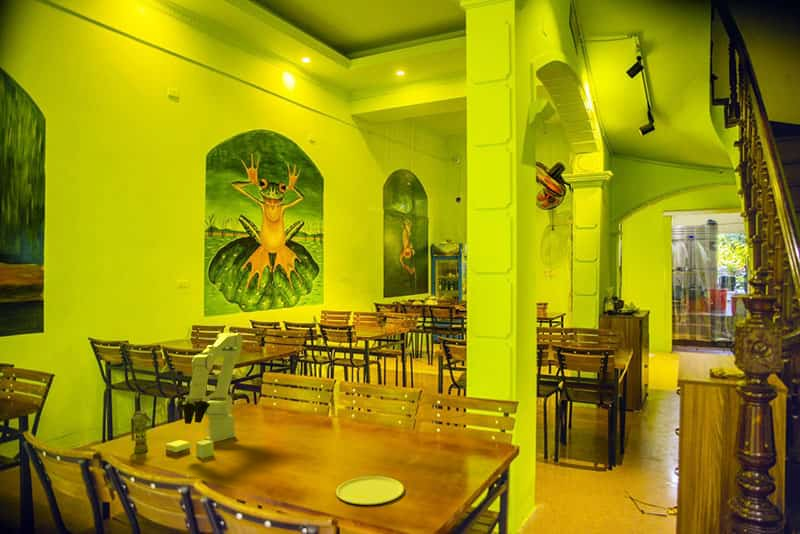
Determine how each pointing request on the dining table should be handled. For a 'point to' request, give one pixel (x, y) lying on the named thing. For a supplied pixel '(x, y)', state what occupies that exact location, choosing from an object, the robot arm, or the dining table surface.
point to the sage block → (204, 448)
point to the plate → (370, 490)
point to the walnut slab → (177, 452)
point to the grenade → (139, 430)
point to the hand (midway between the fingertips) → (192, 423)
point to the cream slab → (177, 445)
